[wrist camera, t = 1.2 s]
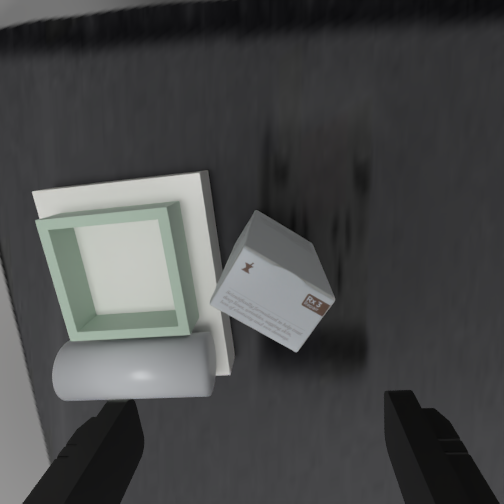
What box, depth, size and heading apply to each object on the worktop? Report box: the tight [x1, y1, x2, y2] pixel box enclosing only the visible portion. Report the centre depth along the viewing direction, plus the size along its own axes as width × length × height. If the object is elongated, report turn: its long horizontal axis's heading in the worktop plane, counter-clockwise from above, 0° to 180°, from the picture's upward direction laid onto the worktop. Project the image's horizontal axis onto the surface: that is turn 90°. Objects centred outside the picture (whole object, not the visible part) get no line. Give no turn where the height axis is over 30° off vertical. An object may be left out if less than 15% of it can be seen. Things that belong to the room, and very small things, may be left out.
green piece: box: [35, 201, 199, 341], centre depth 28 cm, size 10×10×3 cm
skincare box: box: [210, 210, 335, 352], centre depth 25 cm, size 6×4×12 cm
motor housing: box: [32, 170, 235, 401], centre depth 29 cm, size 14×18×8 cm
